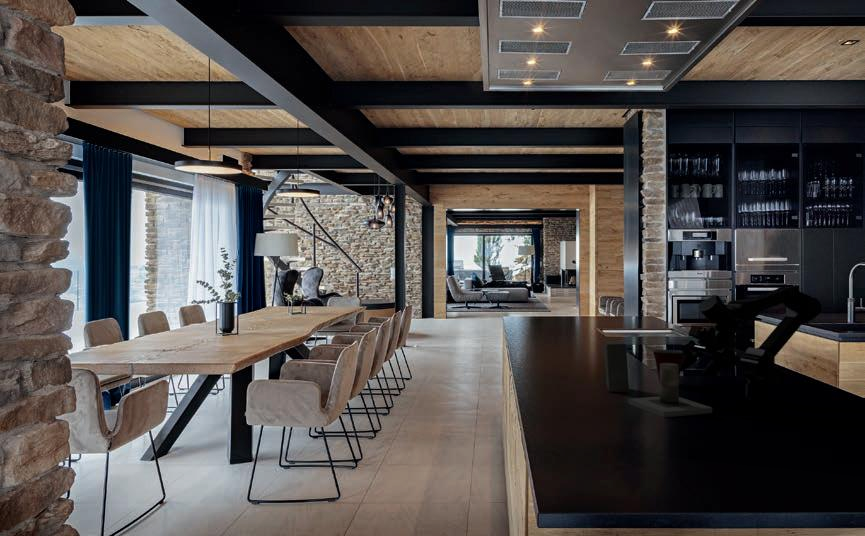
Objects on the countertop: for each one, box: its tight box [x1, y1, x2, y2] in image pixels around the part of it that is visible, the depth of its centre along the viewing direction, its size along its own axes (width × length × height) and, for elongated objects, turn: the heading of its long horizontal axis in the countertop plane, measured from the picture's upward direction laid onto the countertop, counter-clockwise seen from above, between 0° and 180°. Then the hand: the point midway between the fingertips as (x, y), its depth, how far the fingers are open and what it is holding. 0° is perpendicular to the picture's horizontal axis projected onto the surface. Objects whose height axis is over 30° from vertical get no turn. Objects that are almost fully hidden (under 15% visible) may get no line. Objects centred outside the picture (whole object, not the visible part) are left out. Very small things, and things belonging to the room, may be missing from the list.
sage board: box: [627, 395, 713, 418], centre depth 170 cm, size 16×16×2 cm
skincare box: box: [604, 341, 630, 393], centre depth 194 cm, size 8×7×16 cm
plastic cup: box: [651, 349, 683, 383], centre depth 203 cm, size 11×11×12 cm
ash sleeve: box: [659, 363, 680, 405], centre depth 169 cm, size 5×5×11 cm
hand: (690, 373), depth 172 cm, fingers open, 9 cm apart
